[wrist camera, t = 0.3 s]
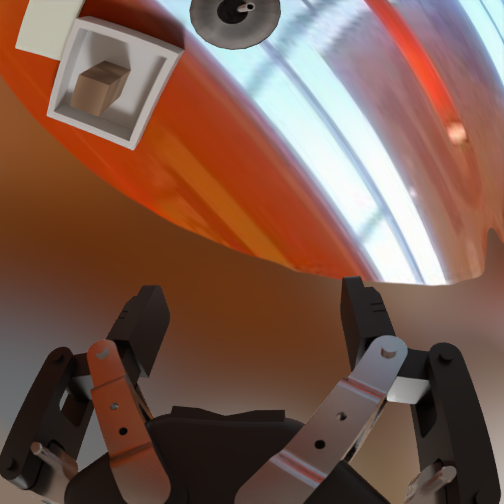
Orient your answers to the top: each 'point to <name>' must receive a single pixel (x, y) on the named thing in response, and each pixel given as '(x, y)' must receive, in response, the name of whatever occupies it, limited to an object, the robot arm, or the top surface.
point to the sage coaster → (48, 26)
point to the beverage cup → (234, 21)
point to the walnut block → (99, 87)
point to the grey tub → (136, 87)
